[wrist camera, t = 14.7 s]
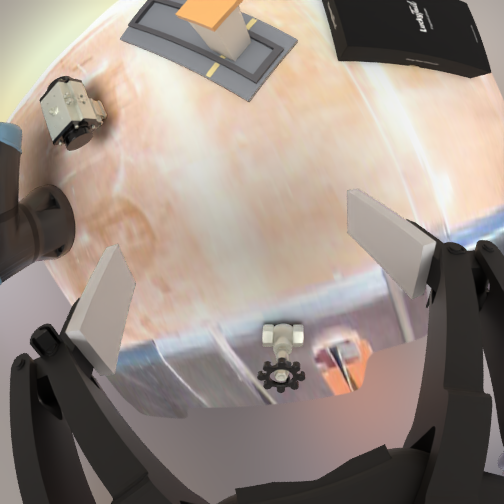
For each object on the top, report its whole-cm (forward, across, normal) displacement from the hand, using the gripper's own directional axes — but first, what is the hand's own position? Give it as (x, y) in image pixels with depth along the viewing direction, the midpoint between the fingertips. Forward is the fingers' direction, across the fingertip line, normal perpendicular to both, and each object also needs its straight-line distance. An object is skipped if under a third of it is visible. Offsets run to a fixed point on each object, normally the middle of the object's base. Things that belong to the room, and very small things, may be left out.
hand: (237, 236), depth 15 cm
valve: (+19, +5, -29) cm, 35 cm away
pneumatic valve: (+33, -17, +12) cm, 39 cm away
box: (+22, +32, +18) cm, 43 cm away
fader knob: (+27, +5, +16) cm, 32 cm away
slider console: (+30, +2, +20) cm, 36 cm away
